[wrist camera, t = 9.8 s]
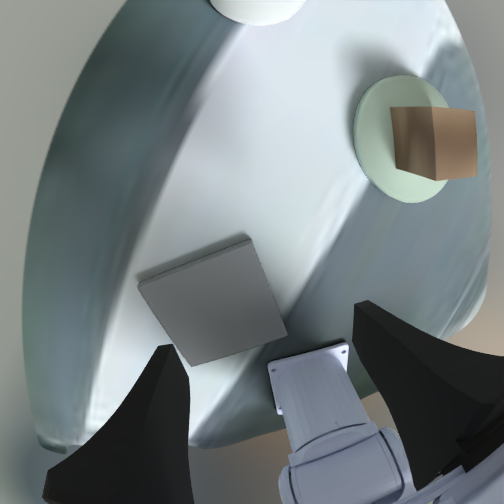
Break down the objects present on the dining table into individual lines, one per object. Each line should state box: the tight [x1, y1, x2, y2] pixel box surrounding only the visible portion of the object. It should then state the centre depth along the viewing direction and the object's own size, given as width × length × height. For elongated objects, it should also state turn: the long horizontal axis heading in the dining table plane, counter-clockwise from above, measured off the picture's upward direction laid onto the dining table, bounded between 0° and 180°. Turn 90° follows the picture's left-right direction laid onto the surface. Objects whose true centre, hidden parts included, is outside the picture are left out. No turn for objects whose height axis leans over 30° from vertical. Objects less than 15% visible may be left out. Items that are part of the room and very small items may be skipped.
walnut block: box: [390, 106, 477, 181], centre depth 15 cm, size 4×4×4 cm
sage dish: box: [353, 75, 449, 203], centre depth 17 cm, size 10×10×1 cm
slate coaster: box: [137, 239, 288, 367], centre depth 21 cm, size 9×9×1 cm
